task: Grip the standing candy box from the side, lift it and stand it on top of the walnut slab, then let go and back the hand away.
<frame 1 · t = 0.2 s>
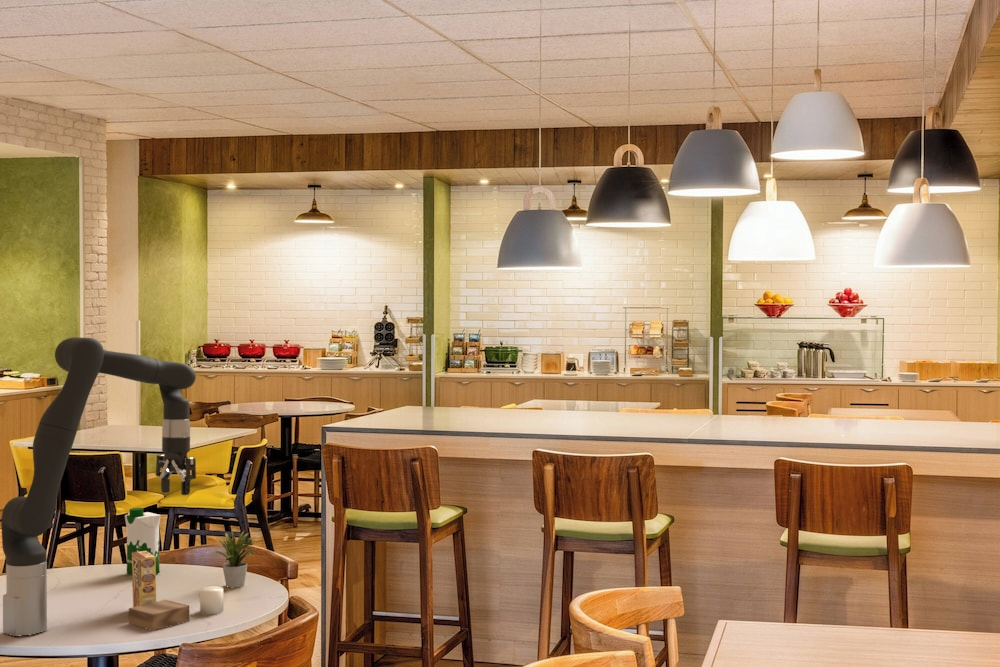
hand: (175, 493, 315), 29 cm above the table, tool pointing down, fingers open, 8 cm apart
candy box: (144, 612, 299), on the table
walnut slab: (159, 622, 289), on the table
milk carton: (143, 574, 342), on the table
house plant: (236, 587, 326), on the table
white cylinder: (211, 611, 299), on the table
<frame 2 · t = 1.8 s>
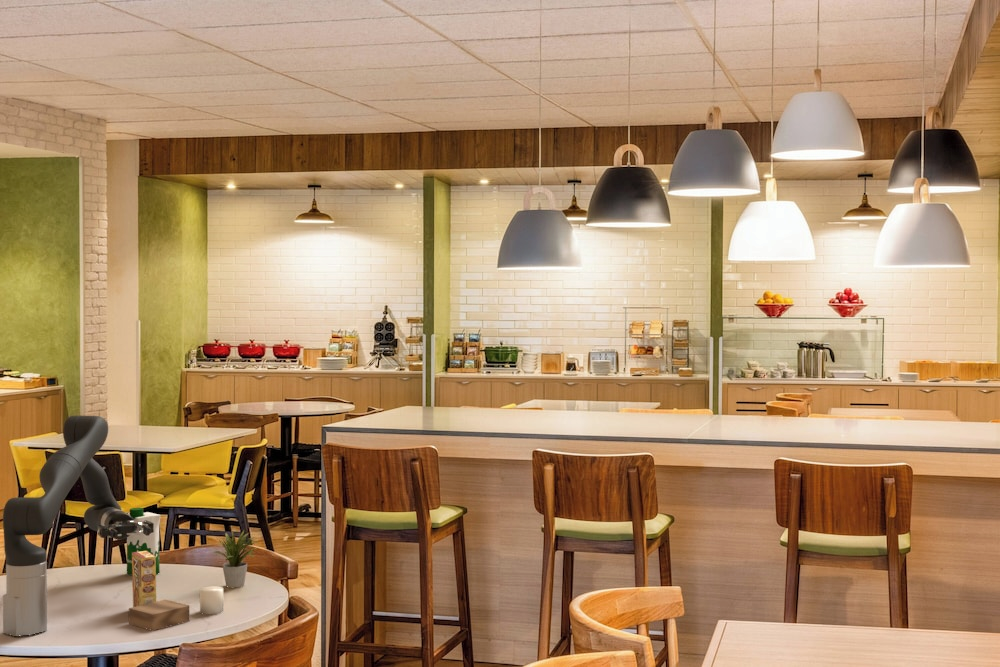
hand: (132, 533, 308), 19 cm above the table, tool horizontal, fingers open, 8 cm apart
nothing on the table moved.
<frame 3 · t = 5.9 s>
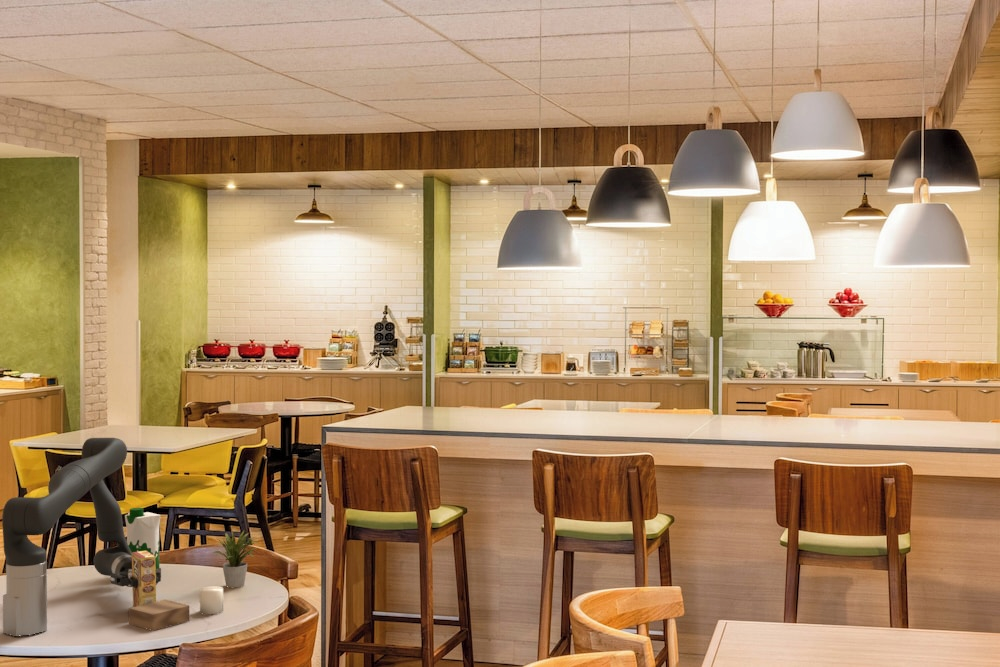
hand: (146, 582, 297), 8 cm above the table, tool horizontal, fingers closed on candy box, 4 cm apart
candy box: (144, 612, 299), on the table, touching gripper
everything else where it was.
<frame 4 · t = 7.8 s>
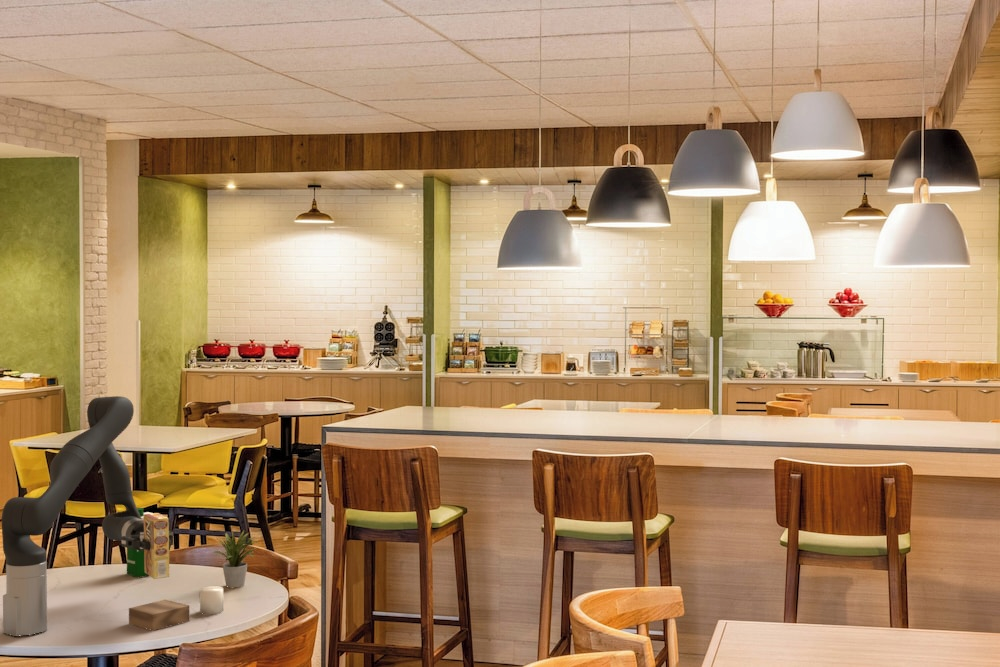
hand: (158, 545, 288), 20 cm above the table, tool horizontal, fingers closed on candy box, 4 cm apart
candy box: (156, 576, 290), point 11 cm above the table, touching gripper
everything else where it was.
when the fingers open (13 cm above the table, at t = 9.7 s): candy box stays where it is, resting on walnut slab.
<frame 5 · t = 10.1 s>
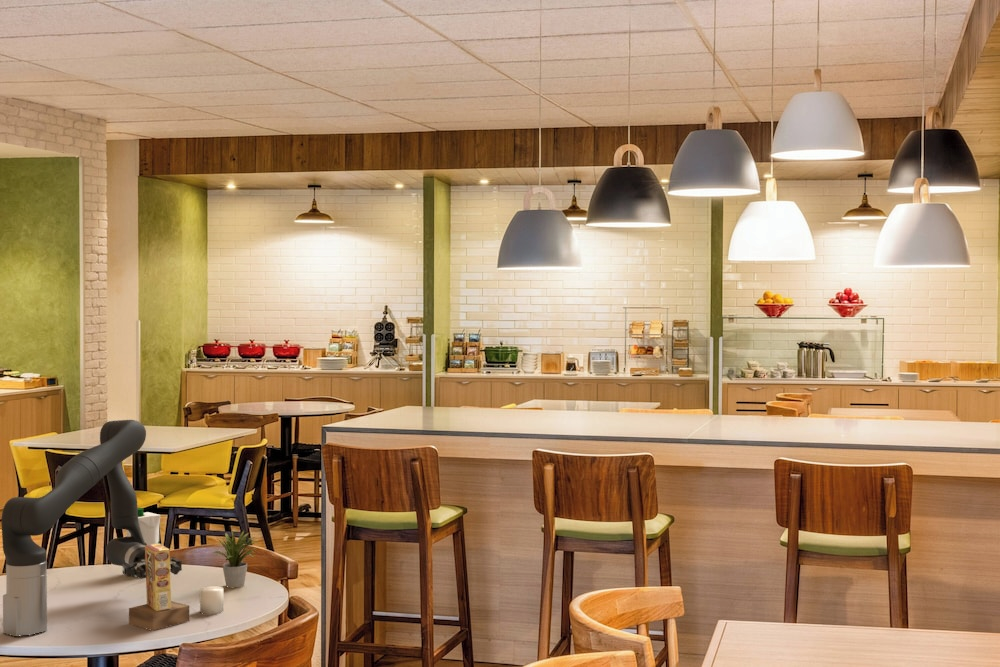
hand: (160, 572, 287), 13 cm above the table, tool horizontal, fingers open, 8 cm apart
candy box: (158, 607, 288), point 4 cm above the table, touching walnut slab
everything else where it was.
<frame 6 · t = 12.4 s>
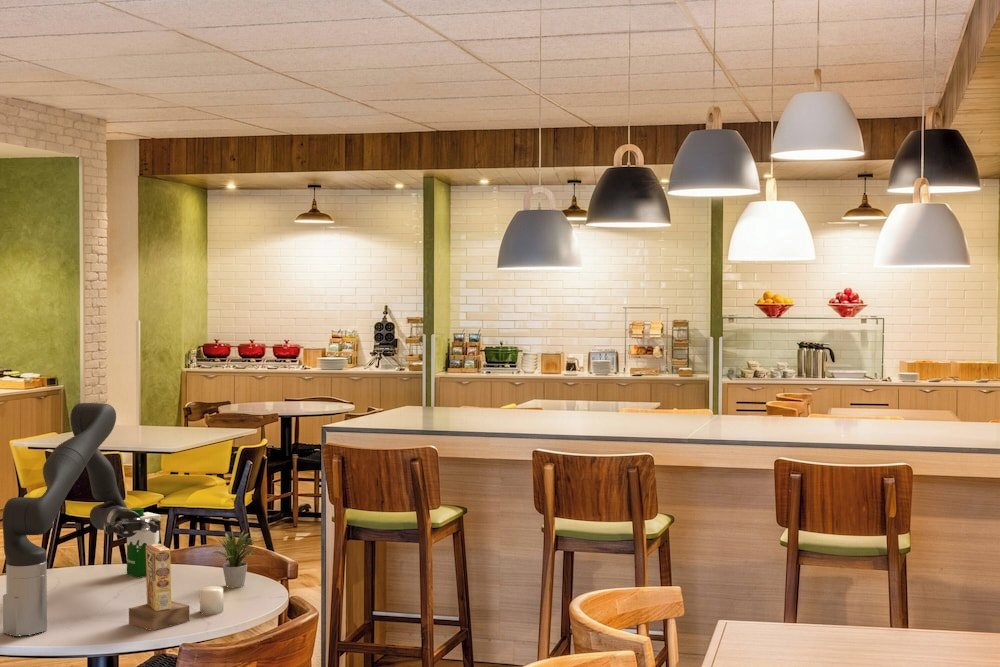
hand: (139, 530, 302), 21 cm above the table, tool horizontal, fingers open, 8 cm apart
nothing on the table moved.
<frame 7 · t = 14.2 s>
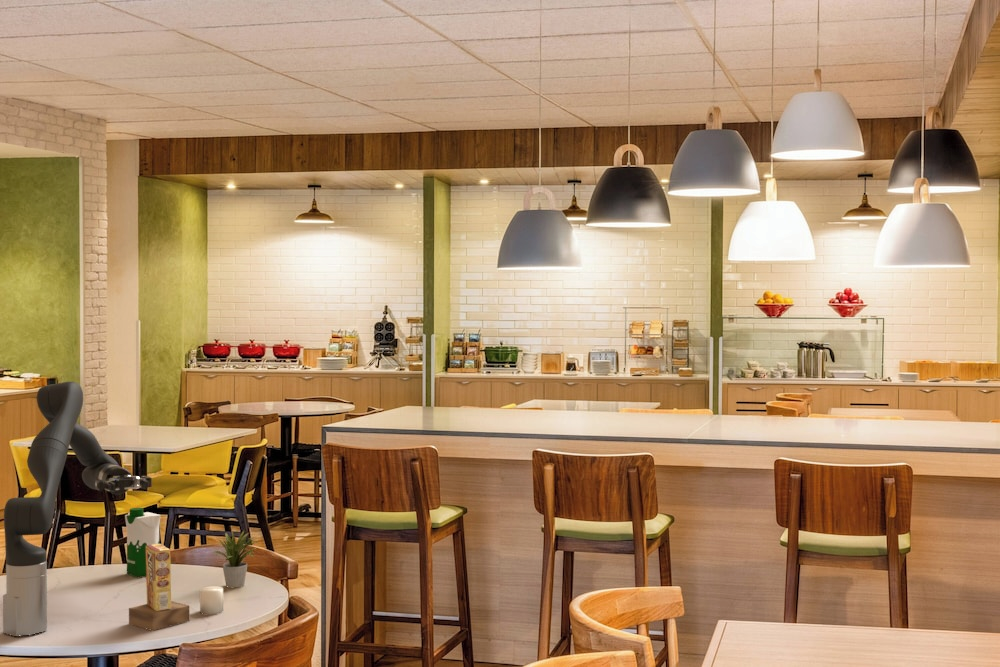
hand: (130, 486, 306), 32 cm above the table, tool horizontal, fingers open, 8 cm apart
nothing on the table moved.
at the end: candy box 0.2 cm from the walnut slab (horizontally); candy box point 3.8 cm above the table; candy box tilted 0° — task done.
